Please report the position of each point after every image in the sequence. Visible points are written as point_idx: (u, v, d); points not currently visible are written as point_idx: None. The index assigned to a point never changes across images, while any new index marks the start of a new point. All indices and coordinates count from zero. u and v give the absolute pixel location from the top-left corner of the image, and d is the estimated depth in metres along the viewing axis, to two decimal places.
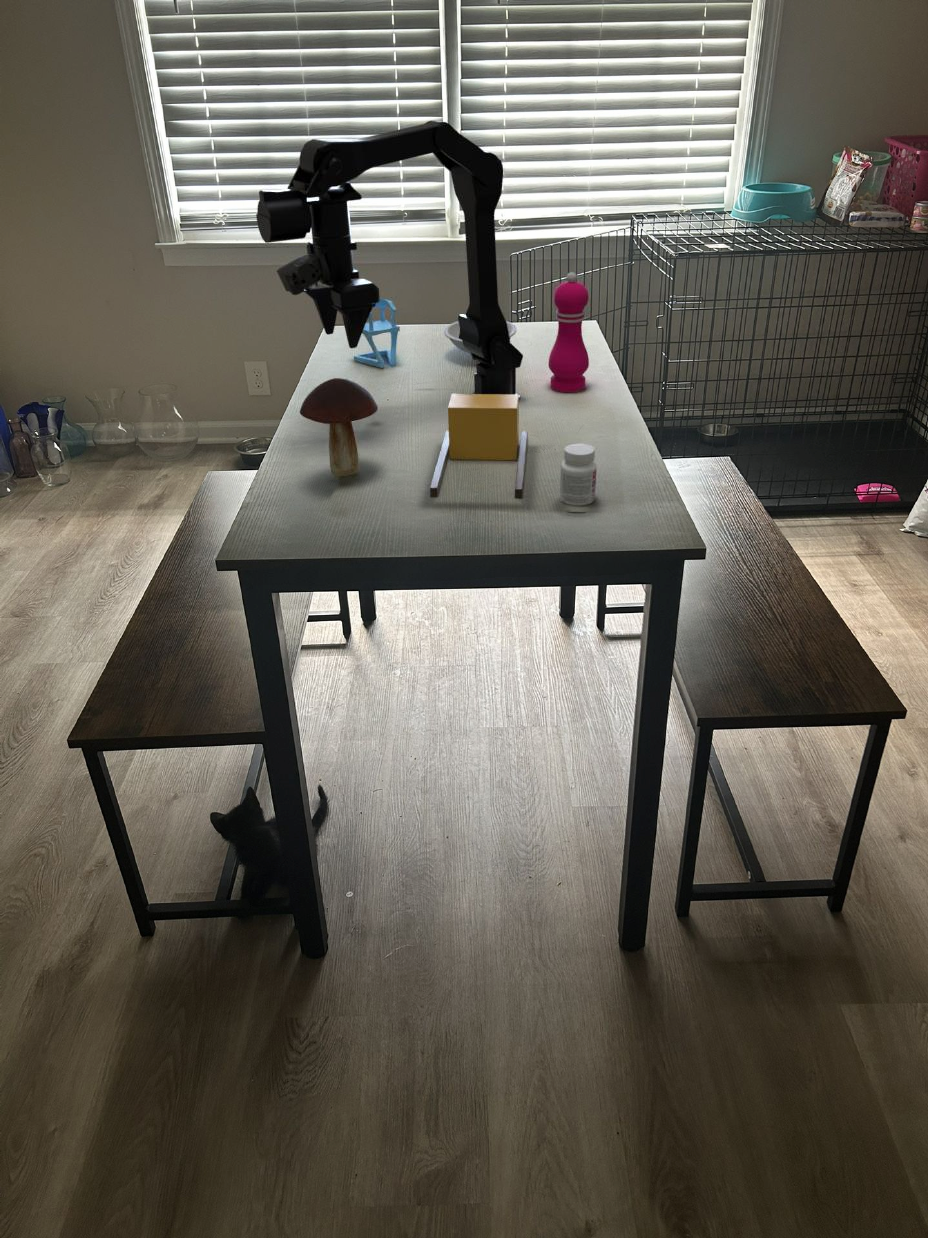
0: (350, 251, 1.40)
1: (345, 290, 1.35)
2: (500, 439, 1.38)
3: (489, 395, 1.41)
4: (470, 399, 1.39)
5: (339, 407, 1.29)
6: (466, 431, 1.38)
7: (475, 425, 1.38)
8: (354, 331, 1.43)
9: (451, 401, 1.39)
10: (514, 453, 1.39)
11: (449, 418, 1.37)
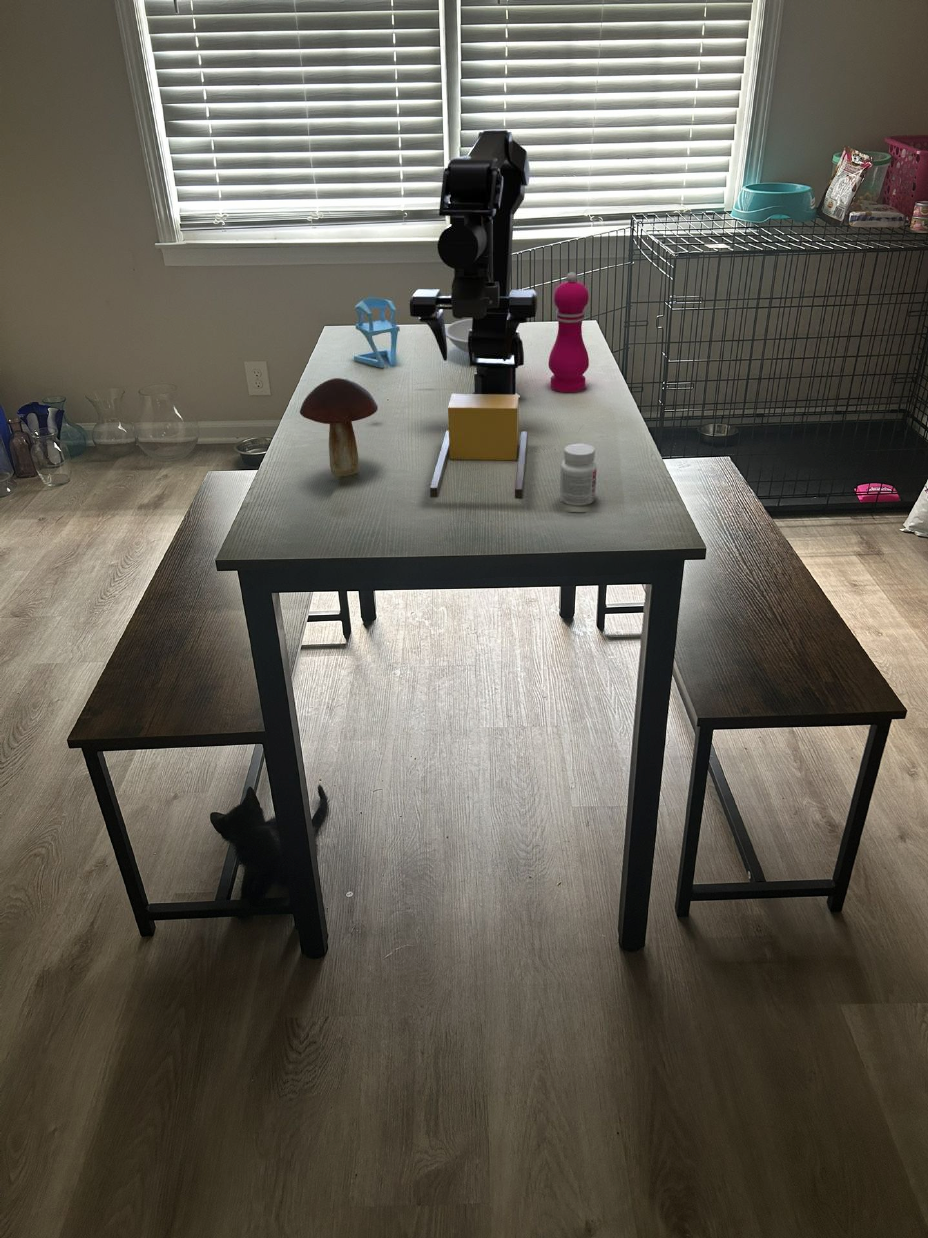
0: None
1: (533, 300, 1.38)
2: (500, 439, 1.38)
3: (489, 395, 1.41)
4: (470, 399, 1.39)
5: (339, 407, 1.29)
6: (466, 431, 1.38)
7: (475, 425, 1.38)
8: None
9: (451, 401, 1.39)
10: (514, 453, 1.39)
11: (449, 418, 1.37)
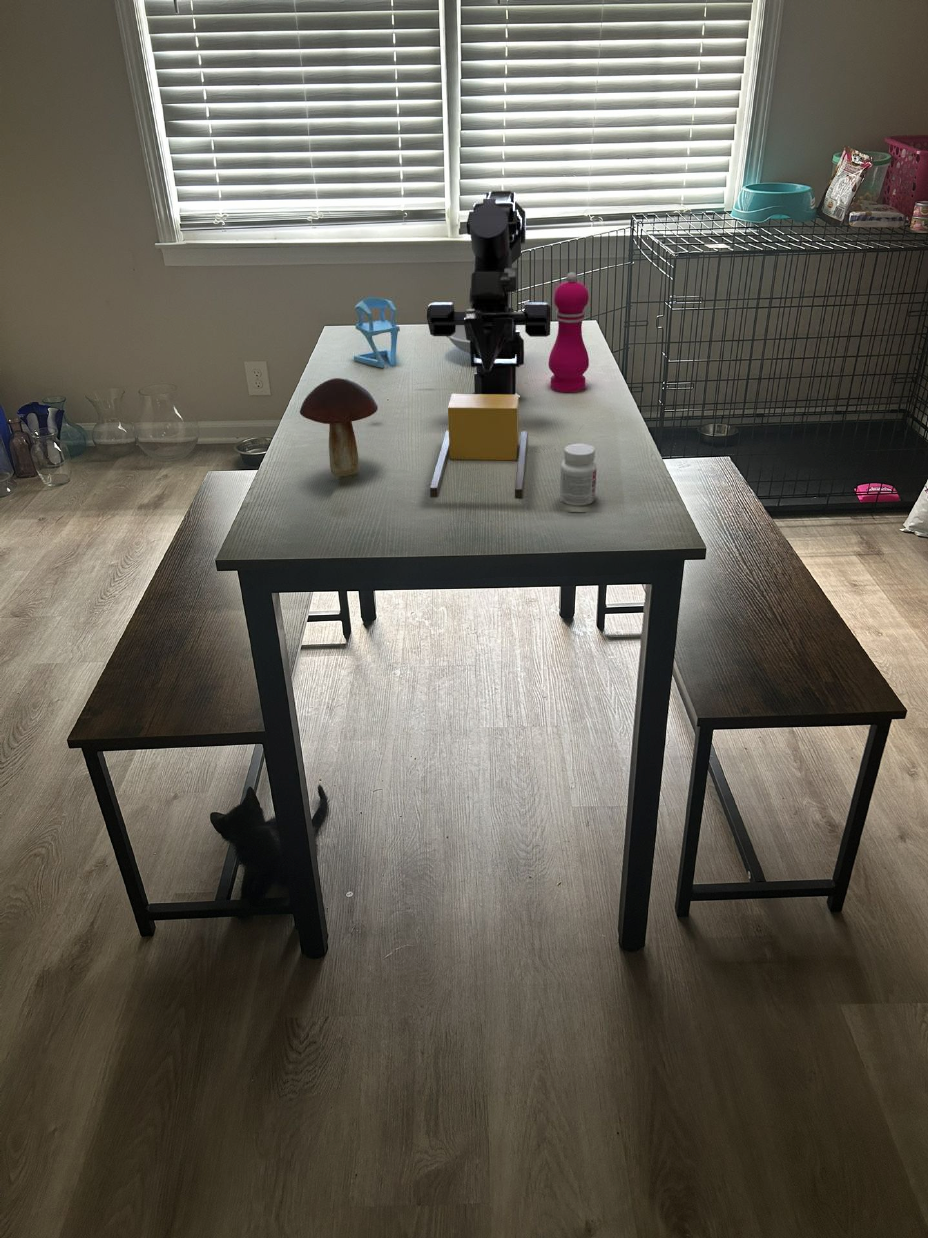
0: None
1: (548, 304, 1.42)
2: (500, 439, 1.38)
3: (489, 395, 1.41)
4: (470, 399, 1.39)
5: (339, 407, 1.29)
6: (466, 431, 1.38)
7: (475, 425, 1.38)
8: (495, 354, 1.44)
9: (451, 401, 1.39)
10: (514, 453, 1.39)
11: (449, 418, 1.37)
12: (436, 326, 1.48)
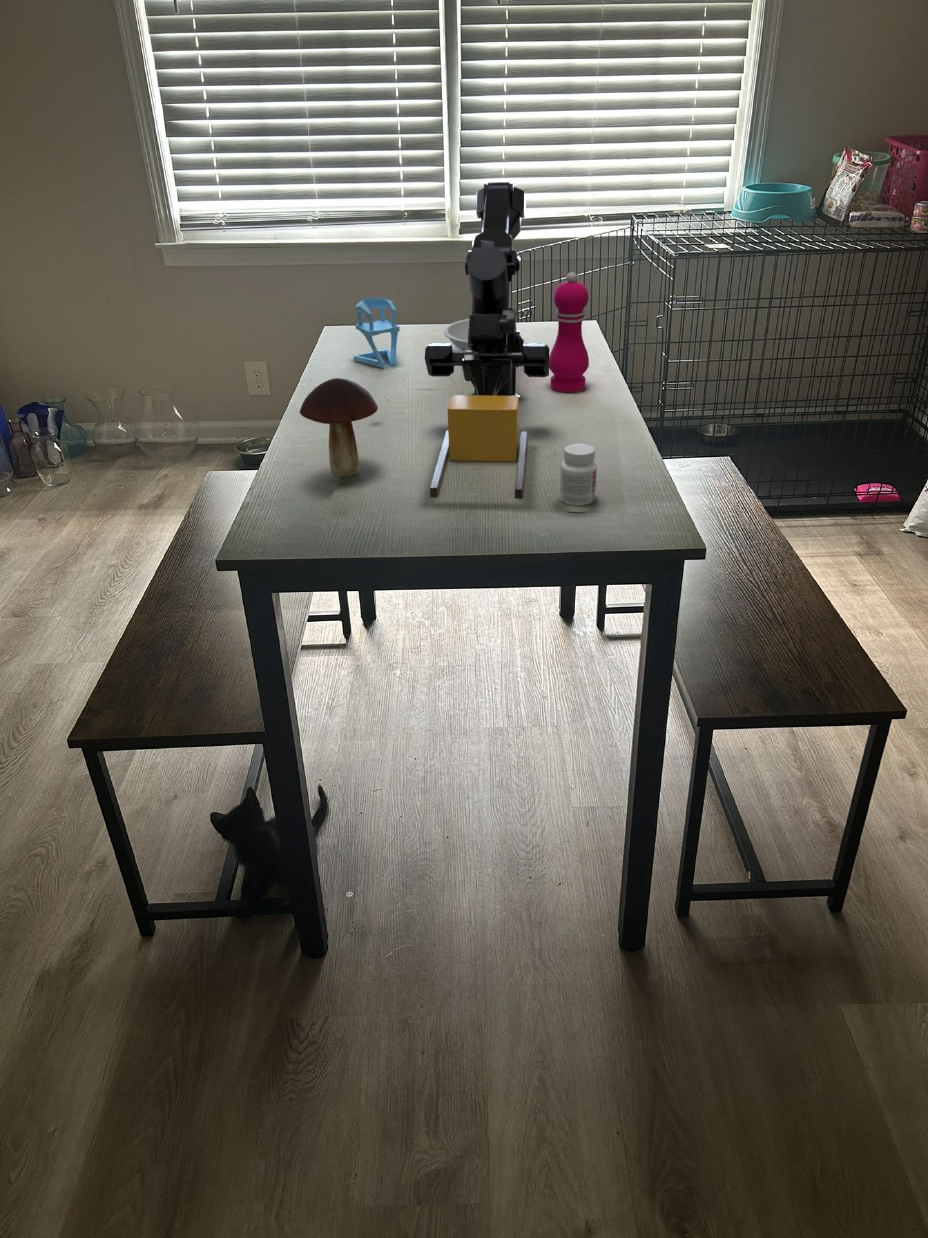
0: None
1: (547, 346, 1.41)
2: (500, 440, 1.38)
3: (489, 396, 1.40)
4: (470, 400, 1.39)
5: (339, 407, 1.29)
6: (465, 432, 1.38)
7: (475, 426, 1.37)
8: (494, 395, 1.43)
9: (451, 402, 1.38)
10: (514, 455, 1.39)
11: (449, 419, 1.37)
12: (434, 366, 1.48)
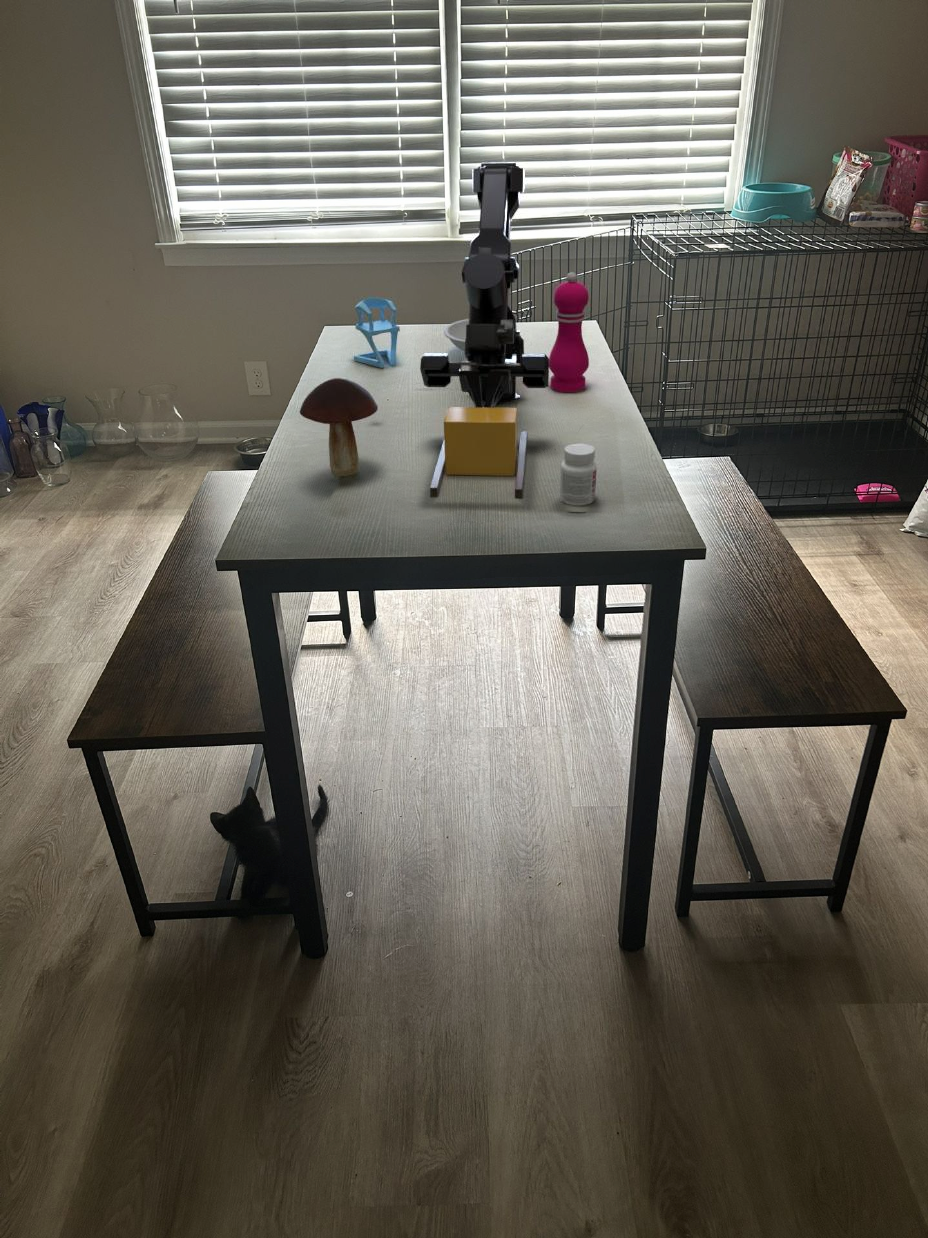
0: None
1: None
2: (498, 454, 1.34)
3: (486, 408, 1.36)
4: (467, 412, 1.35)
5: (339, 407, 1.29)
6: (462, 446, 1.33)
7: (472, 439, 1.33)
8: (491, 407, 1.39)
9: (447, 415, 1.34)
10: (512, 469, 1.35)
11: (445, 432, 1.33)
12: (430, 377, 1.43)
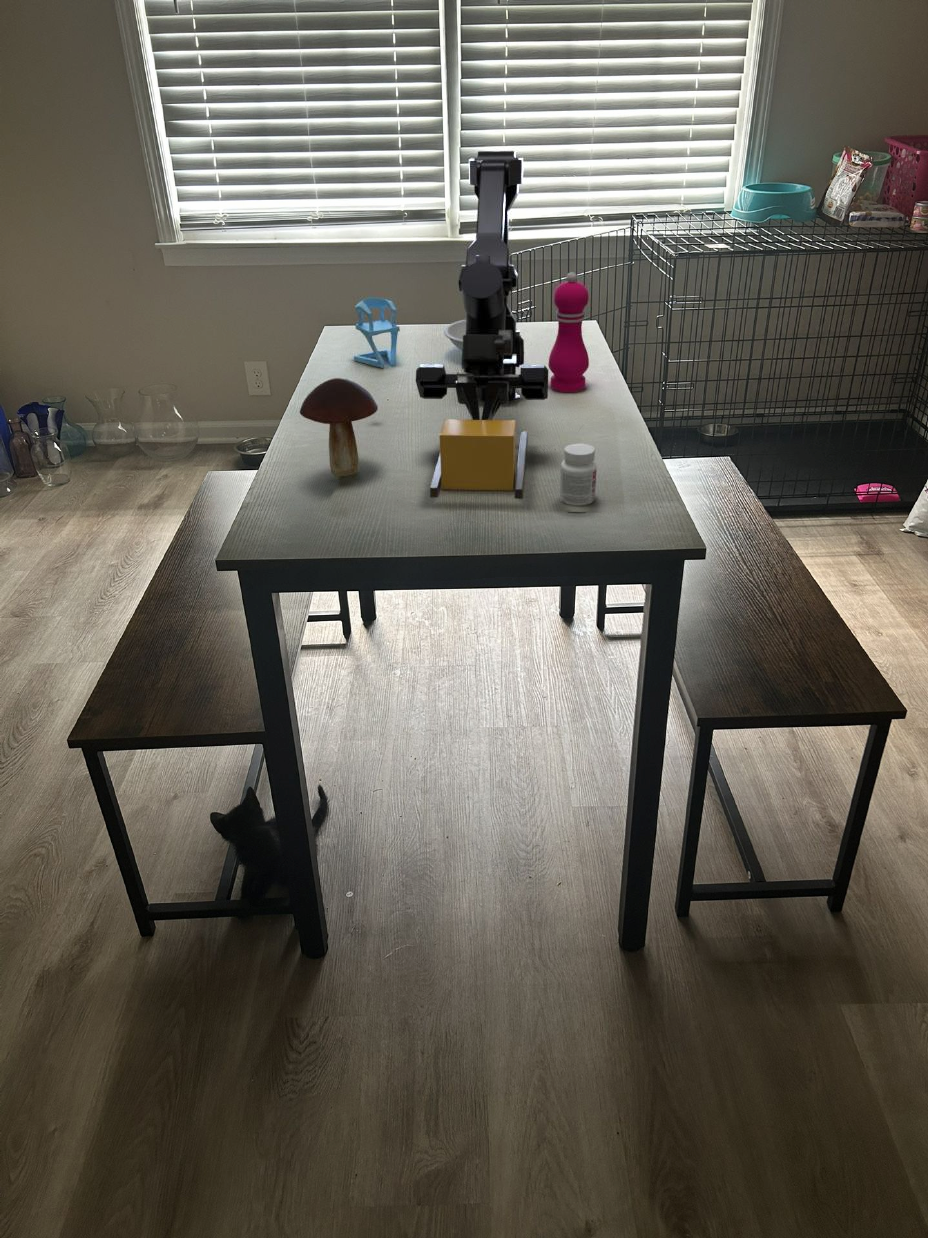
0: None
1: (546, 367, 1.33)
2: (496, 468, 1.29)
3: (484, 421, 1.32)
4: (463, 425, 1.30)
5: (339, 407, 1.29)
6: (459, 460, 1.29)
7: (469, 453, 1.29)
8: (489, 419, 1.34)
9: (443, 428, 1.30)
10: (510, 484, 1.30)
11: (441, 446, 1.28)
12: (426, 388, 1.39)
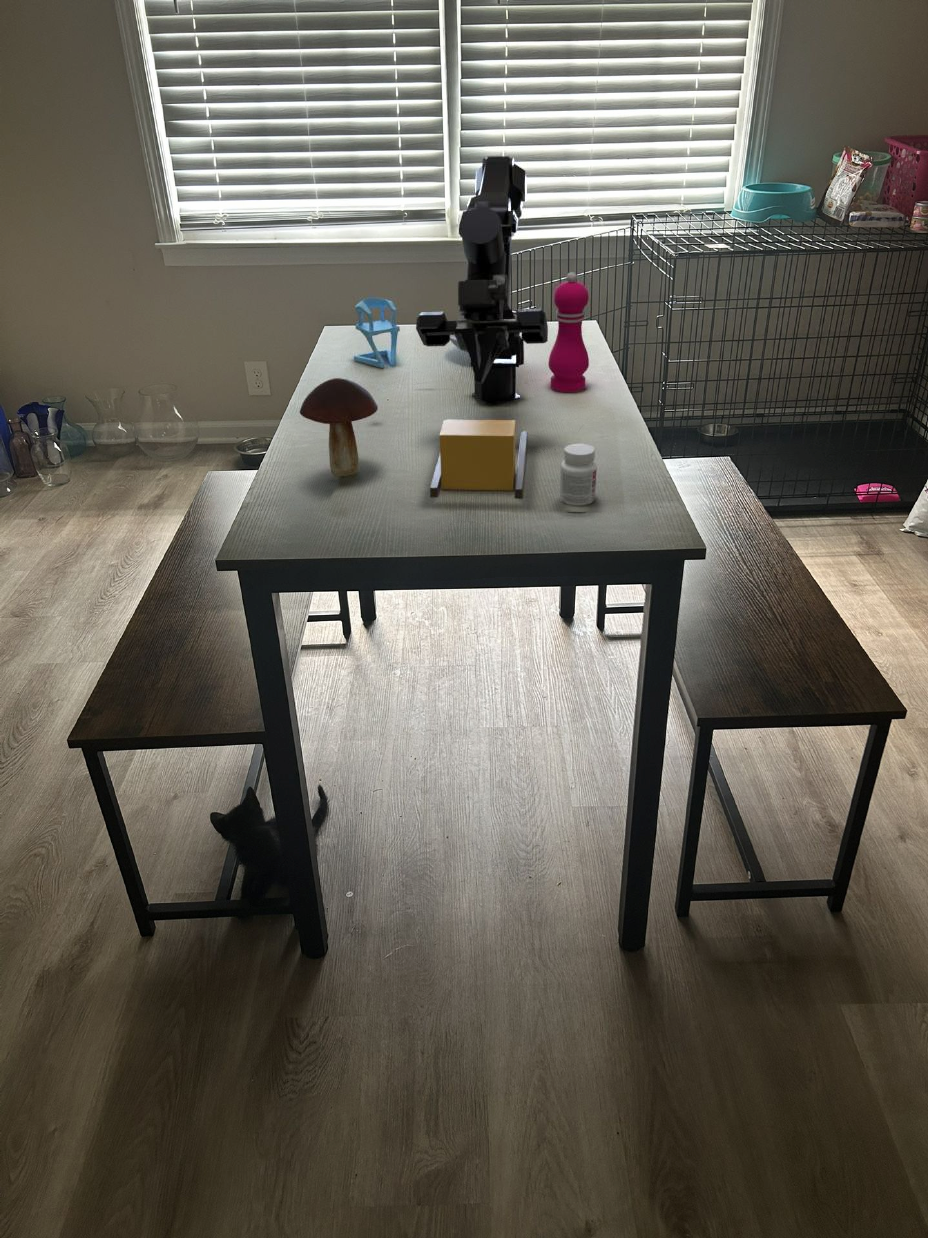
0: None
1: (542, 311, 1.35)
2: (496, 468, 1.29)
3: (484, 421, 1.32)
4: (463, 425, 1.30)
5: (339, 407, 1.29)
6: (459, 460, 1.29)
7: (469, 453, 1.29)
8: (488, 364, 1.37)
9: (443, 428, 1.30)
10: (510, 484, 1.30)
11: (441, 446, 1.28)
12: (429, 336, 1.42)
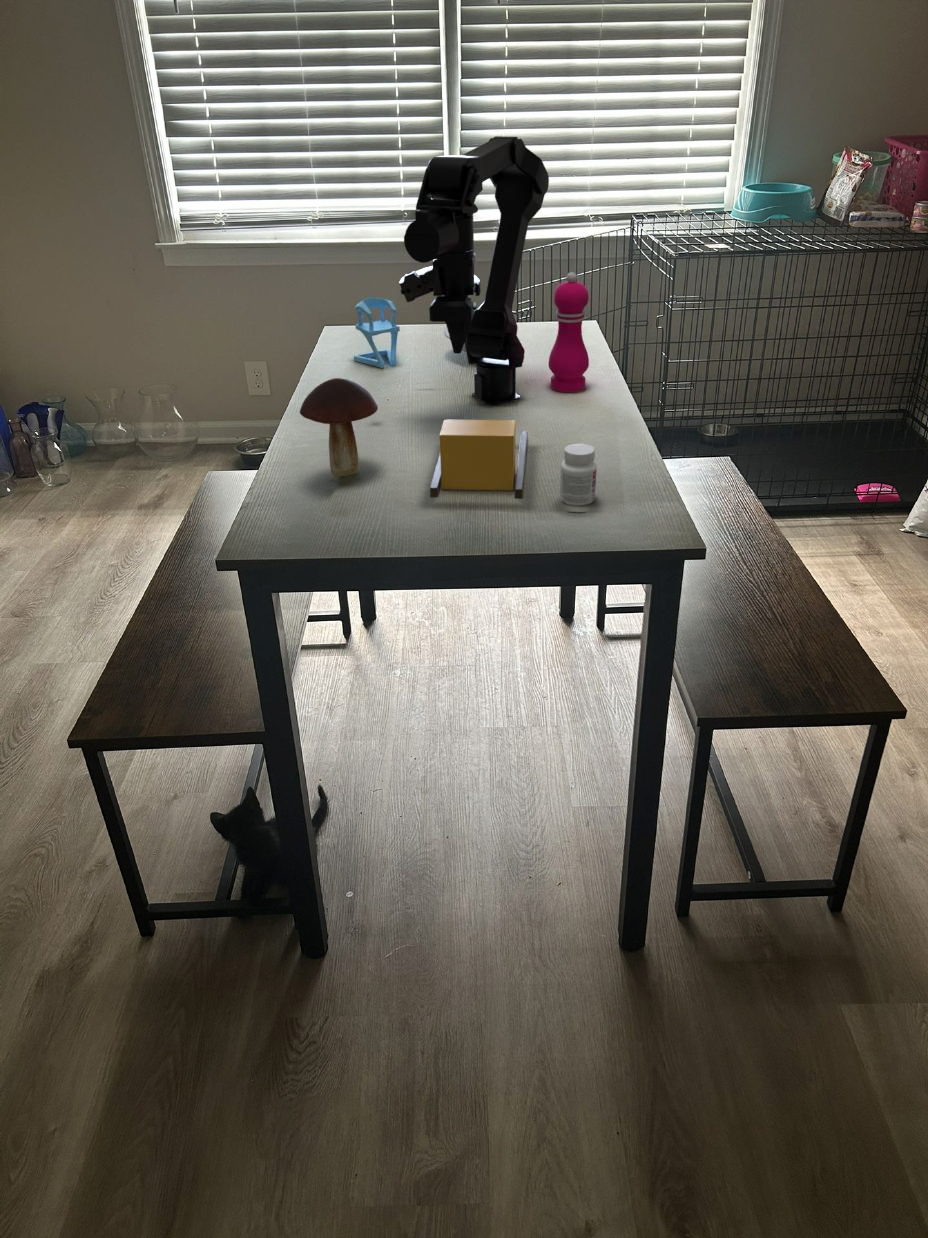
0: (466, 267, 1.41)
1: (434, 305, 1.38)
2: (496, 468, 1.29)
3: (484, 421, 1.32)
4: (463, 425, 1.30)
5: (339, 407, 1.29)
6: (459, 460, 1.29)
7: (469, 453, 1.29)
8: (456, 338, 1.48)
9: (443, 428, 1.30)
10: (510, 484, 1.30)
11: (441, 446, 1.28)
12: None
